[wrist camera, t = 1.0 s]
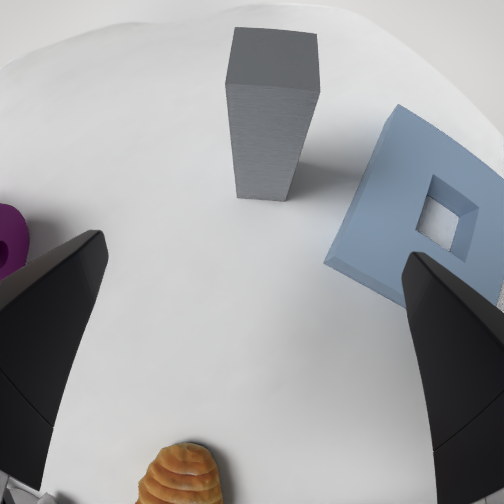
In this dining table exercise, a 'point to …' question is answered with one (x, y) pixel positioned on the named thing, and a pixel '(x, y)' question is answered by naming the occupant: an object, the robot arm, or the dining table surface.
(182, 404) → the dining table surface
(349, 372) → the dining table surface
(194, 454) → the pastry
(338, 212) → the dining table surface
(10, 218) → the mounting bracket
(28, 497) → the bunny figurine
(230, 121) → the grey tapered peg
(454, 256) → the blue square washer
